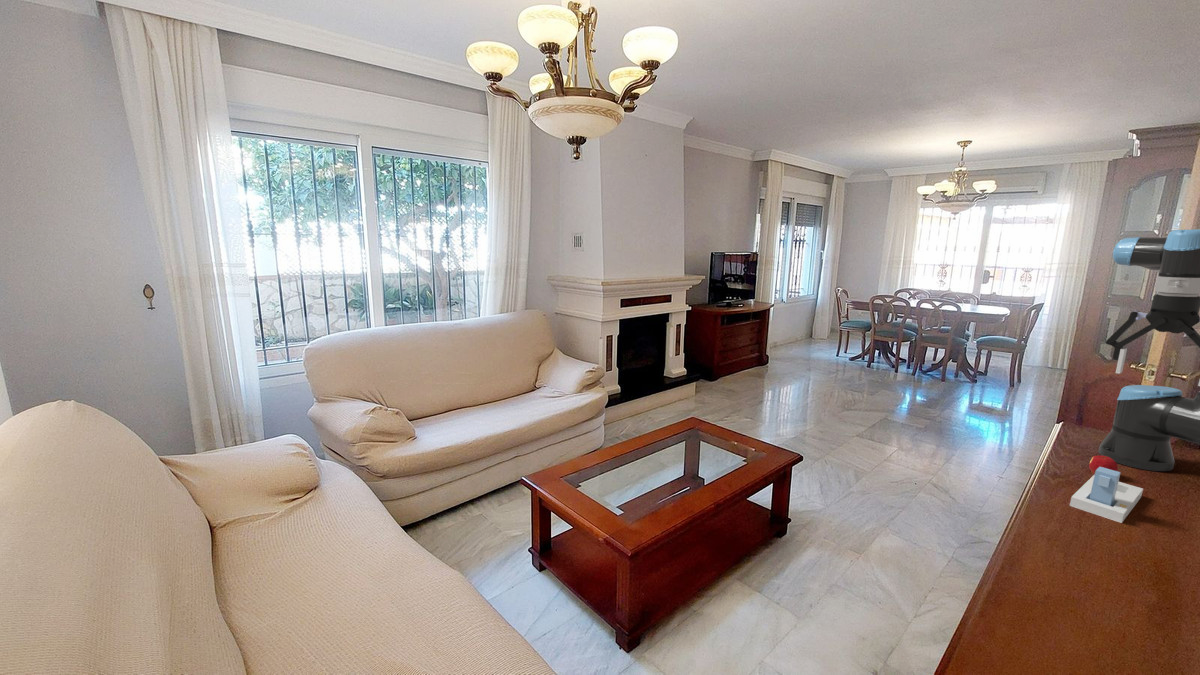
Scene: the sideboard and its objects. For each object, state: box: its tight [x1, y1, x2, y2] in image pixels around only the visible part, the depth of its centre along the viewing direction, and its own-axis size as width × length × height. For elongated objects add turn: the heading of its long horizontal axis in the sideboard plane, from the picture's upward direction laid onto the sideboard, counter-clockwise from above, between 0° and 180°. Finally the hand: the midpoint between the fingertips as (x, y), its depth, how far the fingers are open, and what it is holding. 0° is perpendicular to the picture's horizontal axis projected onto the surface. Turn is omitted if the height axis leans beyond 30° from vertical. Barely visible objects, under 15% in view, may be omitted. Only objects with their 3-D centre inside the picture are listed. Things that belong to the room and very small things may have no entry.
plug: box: [1090, 467, 1121, 507], centre depth 116 cm, size 4×4×10 cm
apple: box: [1088, 454, 1119, 475], centre depth 133 cm, size 8×8×6 cm
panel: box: [1069, 474, 1144, 524], centre depth 120 cm, size 20×9×3 cm, turn 123°
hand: (1158, 378), depth 118 cm, fingers open, 13 cm apart
